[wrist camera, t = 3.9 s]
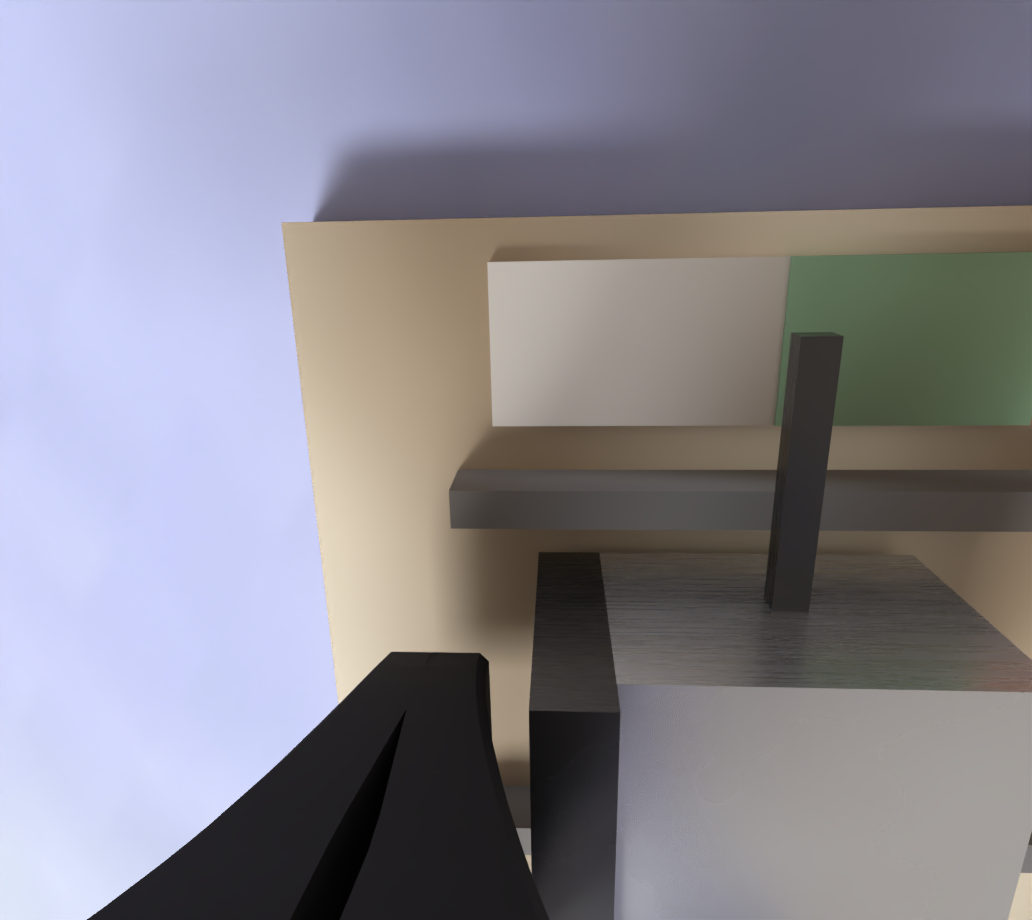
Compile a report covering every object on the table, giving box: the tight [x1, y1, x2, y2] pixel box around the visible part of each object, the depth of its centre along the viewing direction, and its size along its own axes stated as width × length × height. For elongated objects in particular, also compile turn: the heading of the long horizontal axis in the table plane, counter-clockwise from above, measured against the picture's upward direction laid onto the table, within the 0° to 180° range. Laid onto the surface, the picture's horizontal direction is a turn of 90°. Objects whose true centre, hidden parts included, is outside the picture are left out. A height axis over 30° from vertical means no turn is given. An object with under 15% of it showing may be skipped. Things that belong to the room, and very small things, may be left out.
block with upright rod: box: [529, 332, 1032, 920], centre depth 7 cm, size 5×7×3 cm
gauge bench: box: [282, 205, 1032, 920], centre depth 8 cm, size 17×12×5 cm
